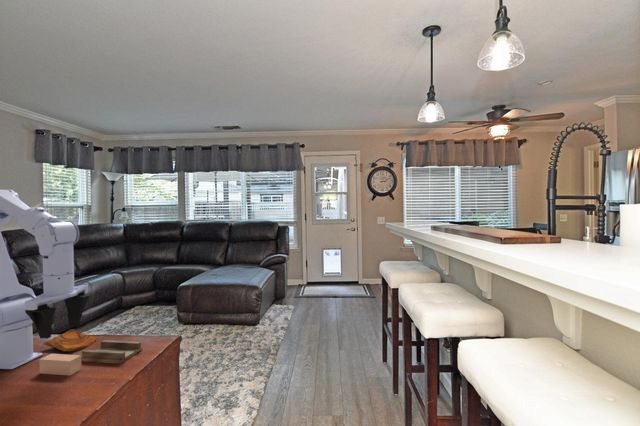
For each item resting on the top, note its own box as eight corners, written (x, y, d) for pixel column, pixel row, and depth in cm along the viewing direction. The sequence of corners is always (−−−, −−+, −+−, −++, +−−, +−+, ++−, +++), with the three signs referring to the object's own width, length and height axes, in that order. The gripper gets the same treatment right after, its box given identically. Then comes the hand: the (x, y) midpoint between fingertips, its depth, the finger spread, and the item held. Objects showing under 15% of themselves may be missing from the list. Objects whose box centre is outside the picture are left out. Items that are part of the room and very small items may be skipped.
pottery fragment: (71, 328, 100) (99, 324, 98) (74, 343, 100) (102, 340, 98) (36, 343, 90) (66, 339, 88) (39, 360, 90) (70, 356, 88)
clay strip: (39, 374, 79) (39, 359, 79) (51, 368, 82) (51, 353, 81) (70, 376, 77) (70, 361, 77) (81, 369, 80) (81, 355, 80)
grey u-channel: (80, 361, 84) (80, 352, 84) (105, 347, 92) (104, 339, 92) (121, 363, 83) (120, 354, 83) (142, 349, 91) (142, 341, 91)
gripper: (45, 281, 71) (46, 345, 72) (98, 267, 86) (99, 321, 86) (15, 280, 72) (17, 343, 73) (73, 267, 87) (74, 320, 87)
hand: (60, 331), depth 79 cm, fingers open, 7 cm apart
